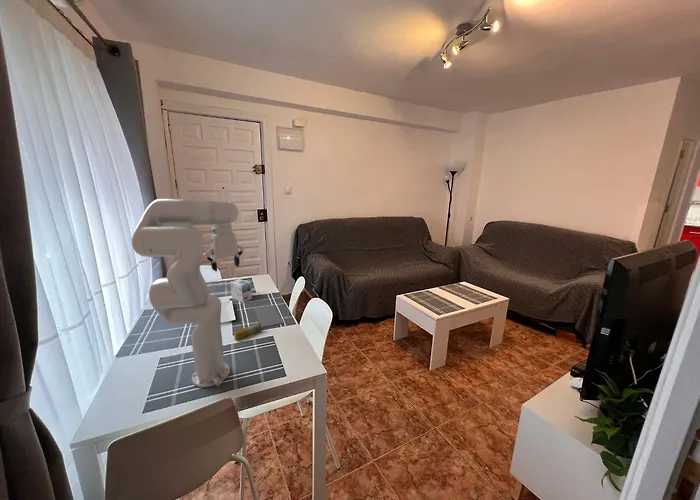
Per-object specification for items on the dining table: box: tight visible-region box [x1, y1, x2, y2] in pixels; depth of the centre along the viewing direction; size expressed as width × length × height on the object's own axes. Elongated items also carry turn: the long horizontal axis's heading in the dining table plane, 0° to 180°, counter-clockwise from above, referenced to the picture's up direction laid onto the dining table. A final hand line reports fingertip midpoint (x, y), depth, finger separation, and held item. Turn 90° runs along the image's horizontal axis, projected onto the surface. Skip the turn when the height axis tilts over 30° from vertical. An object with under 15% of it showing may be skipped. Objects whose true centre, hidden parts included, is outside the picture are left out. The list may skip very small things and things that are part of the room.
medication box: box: [233, 322, 262, 342], centre depth 129 cm, size 12×3×4 cm, turn 135°
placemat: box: [253, 304, 284, 329], centre depth 147 cm, size 22×11×1 cm, turn 27°
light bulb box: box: [230, 278, 253, 303], centre depth 166 cm, size 11×7×11 cm, turn 58°
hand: (226, 268), depth 125 cm, fingers open, 9 cm apart
